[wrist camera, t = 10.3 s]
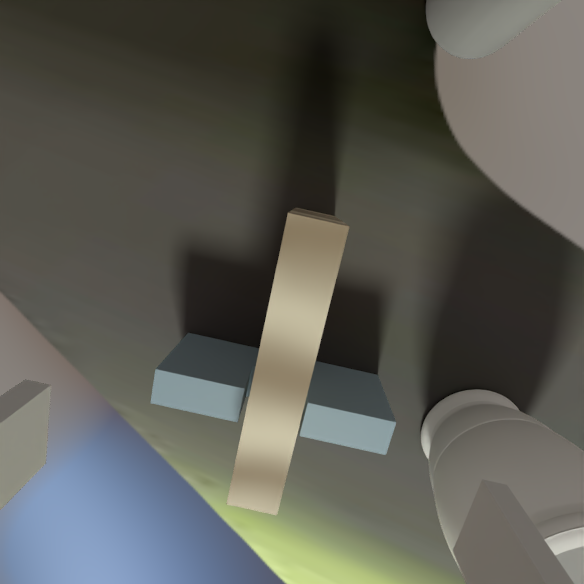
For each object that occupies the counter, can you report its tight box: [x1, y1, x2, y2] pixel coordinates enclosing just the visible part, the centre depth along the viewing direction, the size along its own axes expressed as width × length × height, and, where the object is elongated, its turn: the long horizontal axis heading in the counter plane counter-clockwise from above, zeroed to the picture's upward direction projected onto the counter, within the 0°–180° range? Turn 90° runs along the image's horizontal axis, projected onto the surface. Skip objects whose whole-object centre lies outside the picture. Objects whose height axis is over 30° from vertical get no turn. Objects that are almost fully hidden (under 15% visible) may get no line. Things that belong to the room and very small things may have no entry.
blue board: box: [151, 333, 396, 455], centre depth 29 cm, size 16×2×7 cm, turn 78°
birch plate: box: [227, 208, 349, 515], centre depth 26 cm, size 17×3×11 cm, turn 168°
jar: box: [421, 389, 584, 584], centre depth 26 cm, size 11×10×15 cm
